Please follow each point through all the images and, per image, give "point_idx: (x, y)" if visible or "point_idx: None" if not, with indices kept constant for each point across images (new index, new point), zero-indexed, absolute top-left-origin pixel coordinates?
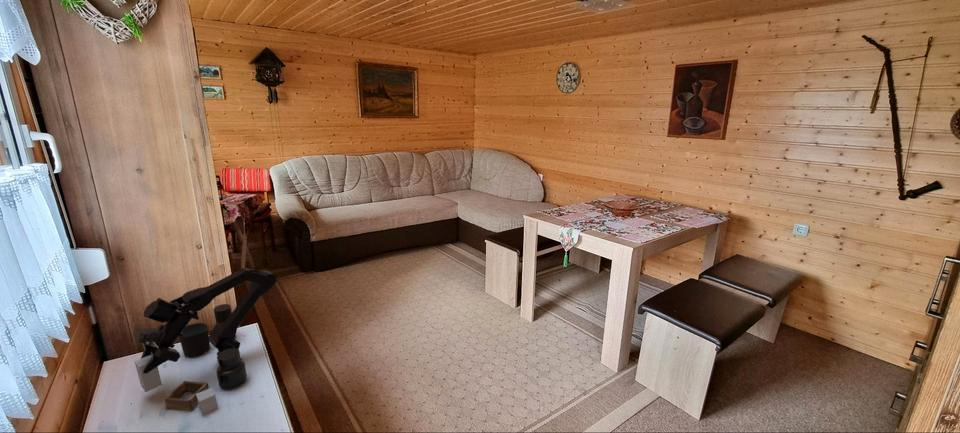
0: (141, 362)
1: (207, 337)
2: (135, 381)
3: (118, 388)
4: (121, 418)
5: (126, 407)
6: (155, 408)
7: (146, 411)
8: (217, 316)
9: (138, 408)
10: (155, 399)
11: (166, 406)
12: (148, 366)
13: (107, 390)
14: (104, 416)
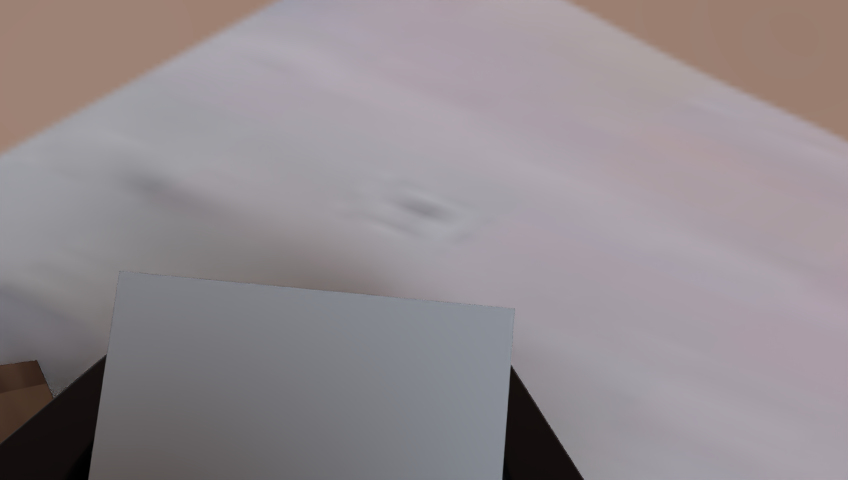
0: (290, 396)
1: None
2: (748, 363)
3: (759, 230)
4: (277, 79)
5: (400, 162)
6: None
7: (176, 238)
8: None
9: (289, 215)
10: None
11: (13, 366)
12: (11, 444)
13: (805, 165)
14: (434, 15)
